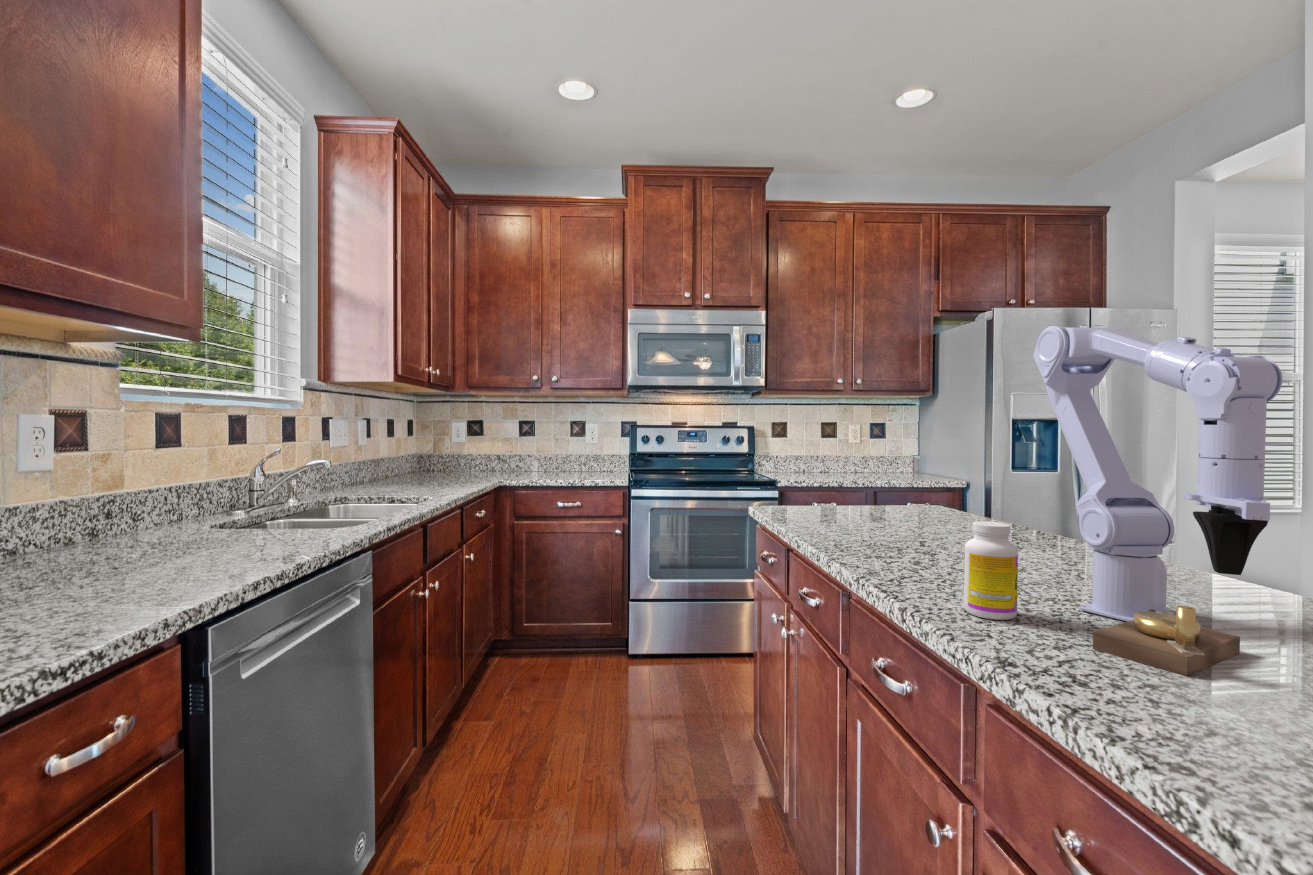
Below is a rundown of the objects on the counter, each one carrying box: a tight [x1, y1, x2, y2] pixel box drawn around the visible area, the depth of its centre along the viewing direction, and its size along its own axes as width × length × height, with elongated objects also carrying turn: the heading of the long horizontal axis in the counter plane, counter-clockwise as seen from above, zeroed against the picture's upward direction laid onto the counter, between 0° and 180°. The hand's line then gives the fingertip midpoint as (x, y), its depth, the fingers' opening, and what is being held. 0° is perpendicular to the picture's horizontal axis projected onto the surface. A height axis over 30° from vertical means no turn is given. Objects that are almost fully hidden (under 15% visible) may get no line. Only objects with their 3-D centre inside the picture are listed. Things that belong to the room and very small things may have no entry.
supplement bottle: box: [963, 520, 1019, 621], centre depth 85 cm, size 7×7×13 cm
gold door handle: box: [1134, 605, 1201, 647], centre depth 70 cm, size 10×6×4 cm, turn 155°
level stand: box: [1092, 609, 1241, 677], centre depth 72 cm, size 14×10×4 cm
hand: (1227, 573), depth 72 cm, fingers closed
